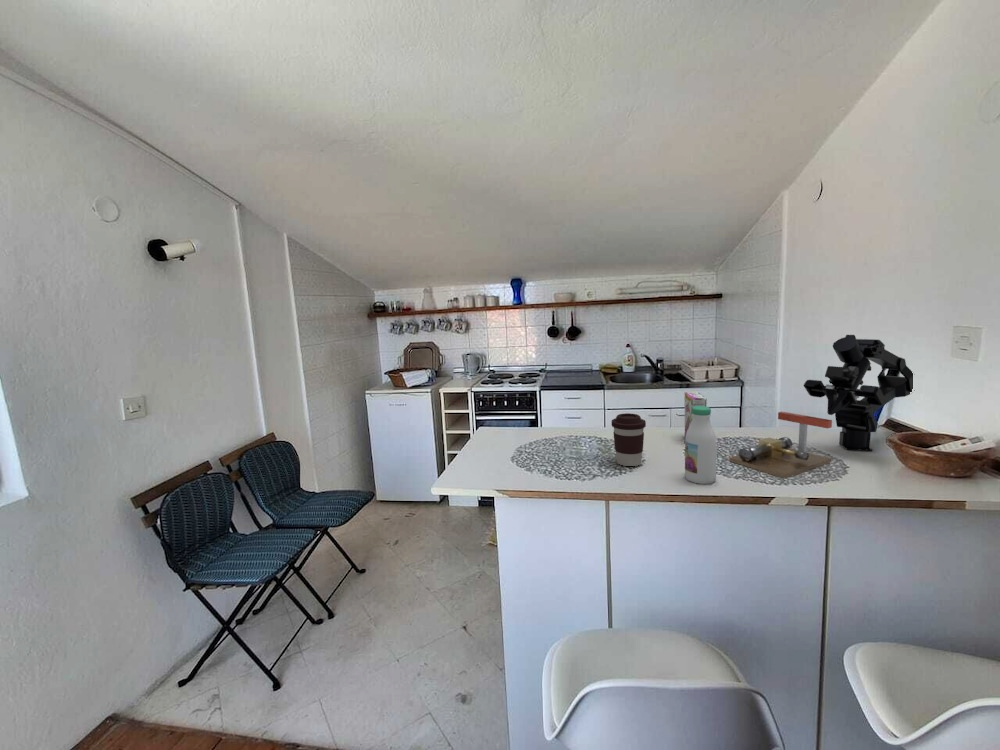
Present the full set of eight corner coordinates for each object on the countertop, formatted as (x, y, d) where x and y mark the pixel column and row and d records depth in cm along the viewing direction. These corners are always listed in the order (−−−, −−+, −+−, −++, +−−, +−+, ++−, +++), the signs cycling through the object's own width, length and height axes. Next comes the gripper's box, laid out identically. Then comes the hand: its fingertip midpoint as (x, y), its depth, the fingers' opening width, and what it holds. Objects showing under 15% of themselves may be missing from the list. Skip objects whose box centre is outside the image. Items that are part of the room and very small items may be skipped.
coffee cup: (647, 459, 132) (647, 412, 130) (644, 470, 123) (643, 420, 121) (615, 456, 136) (614, 411, 134) (609, 467, 127) (608, 418, 125)
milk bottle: (713, 475, 117) (715, 404, 115) (718, 485, 110) (719, 411, 107) (683, 473, 120) (684, 404, 117) (686, 483, 113) (686, 410, 110)
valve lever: (780, 452, 127) (782, 411, 125) (829, 465, 115) (832, 420, 113) (776, 453, 126) (777, 412, 124) (825, 466, 114) (827, 421, 112)
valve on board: (774, 448, 136) (775, 432, 135) (831, 462, 122) (832, 445, 121) (729, 461, 127) (729, 444, 126) (784, 478, 112) (785, 459, 112)
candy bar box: (683, 436, 154) (683, 392, 152) (698, 436, 153) (698, 391, 151) (690, 445, 143) (691, 398, 141) (706, 445, 142) (707, 398, 140)
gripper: (808, 354, 133) (785, 393, 129) (882, 358, 116) (858, 402, 113) (821, 376, 137) (799, 414, 134) (894, 382, 120) (871, 426, 117)
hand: (829, 414), depth 124 cm, fingers closed
